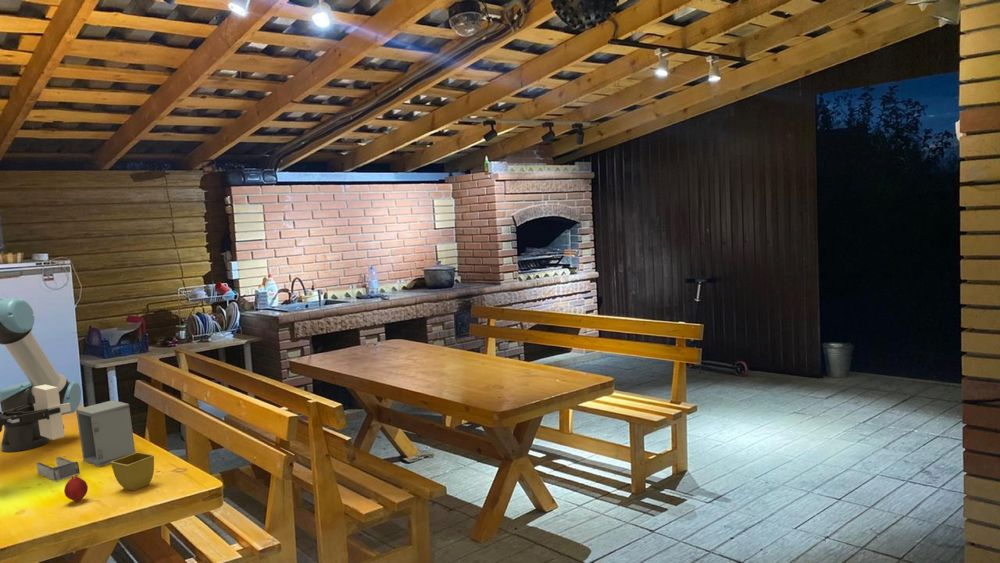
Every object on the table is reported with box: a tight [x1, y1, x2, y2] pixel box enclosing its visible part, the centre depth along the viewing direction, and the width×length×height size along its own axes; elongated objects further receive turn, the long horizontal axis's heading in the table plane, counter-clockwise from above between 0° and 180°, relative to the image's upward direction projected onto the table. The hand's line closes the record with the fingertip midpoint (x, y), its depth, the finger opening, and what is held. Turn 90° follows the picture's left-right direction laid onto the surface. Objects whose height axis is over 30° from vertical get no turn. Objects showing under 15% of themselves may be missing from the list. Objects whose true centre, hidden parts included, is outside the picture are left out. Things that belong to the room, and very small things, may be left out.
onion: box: [64, 475, 89, 503], centre depth 214 cm, size 6×6×8 cm
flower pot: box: [110, 451, 155, 492], centre depth 222 cm, size 9×9×9 cm
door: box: [33, 385, 66, 441], centre depth 238 cm, size 10×4×16 cm, turn 51°
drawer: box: [35, 456, 81, 483], centre depth 240 cm, size 15×7×4 cm, turn 51°
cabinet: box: [75, 400, 136, 468], centre depth 251 cm, size 13×12×18 cm
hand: (63, 405), depth 241 cm, fingers closed on door, 10 cm apart
